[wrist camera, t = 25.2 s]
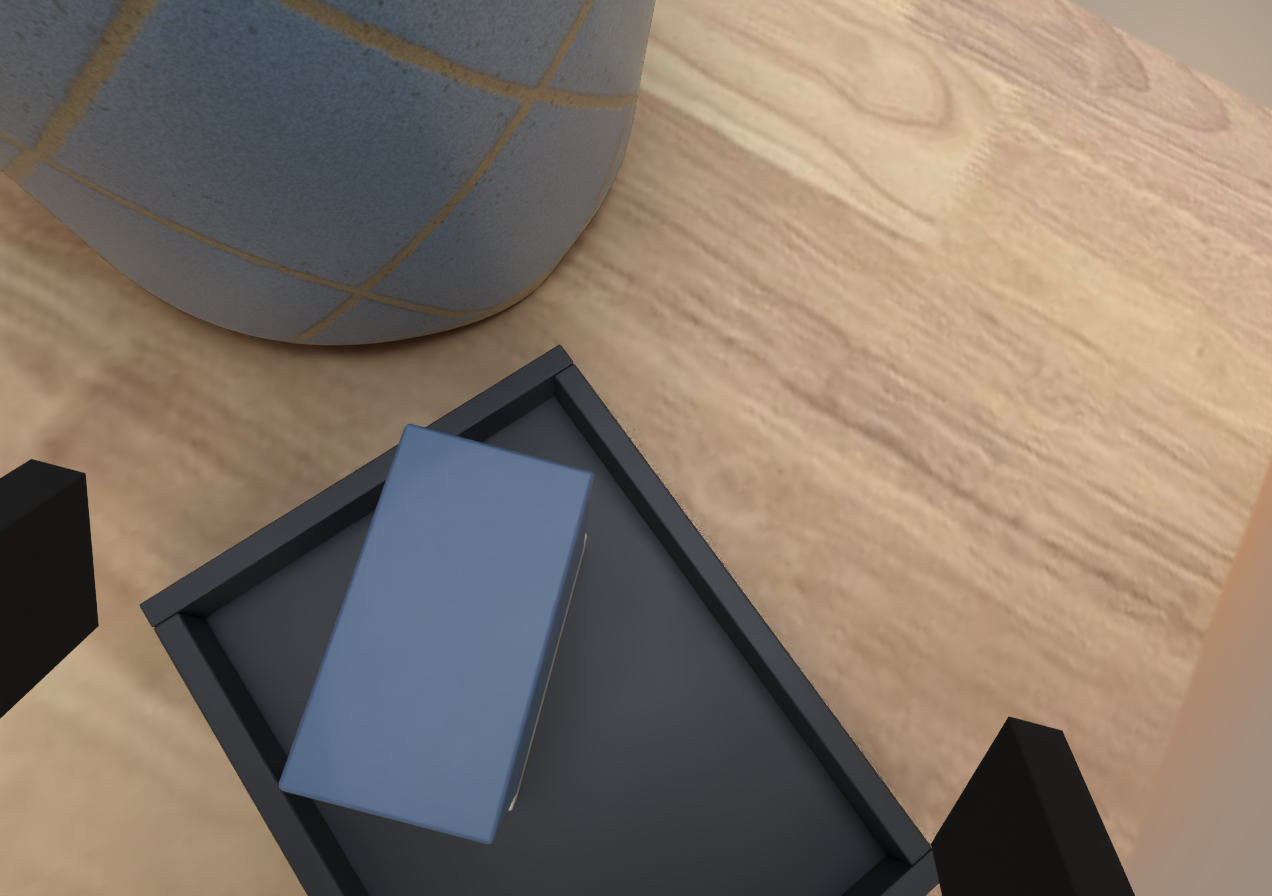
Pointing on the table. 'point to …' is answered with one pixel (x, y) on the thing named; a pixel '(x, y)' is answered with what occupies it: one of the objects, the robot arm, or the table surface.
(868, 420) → the table surface
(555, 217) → the planter
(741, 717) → the tray
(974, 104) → the table surface
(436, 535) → the eraser
